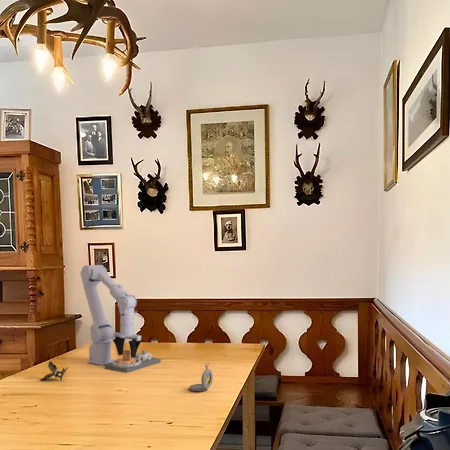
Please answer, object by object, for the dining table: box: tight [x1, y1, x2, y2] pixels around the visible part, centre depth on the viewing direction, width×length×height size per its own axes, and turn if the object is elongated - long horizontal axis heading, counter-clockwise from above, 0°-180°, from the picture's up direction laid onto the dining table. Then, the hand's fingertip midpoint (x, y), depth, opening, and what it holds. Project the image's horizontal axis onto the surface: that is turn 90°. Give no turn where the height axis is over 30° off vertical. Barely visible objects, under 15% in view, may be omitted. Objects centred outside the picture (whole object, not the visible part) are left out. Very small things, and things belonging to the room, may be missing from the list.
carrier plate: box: [104, 349, 162, 374], centre depth 200 cm, size 13×21×5 cm, turn 147°
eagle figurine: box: [40, 360, 69, 381], centre depth 178 cm, size 8×7×9 cm
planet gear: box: [115, 349, 136, 364], centre depth 197 cm, size 8×8×6 cm
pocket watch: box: [188, 362, 214, 392], centre depth 165 cm, size 8×8×10 cm
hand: (126, 355), depth 197 cm, fingers open, 7 cm apart
